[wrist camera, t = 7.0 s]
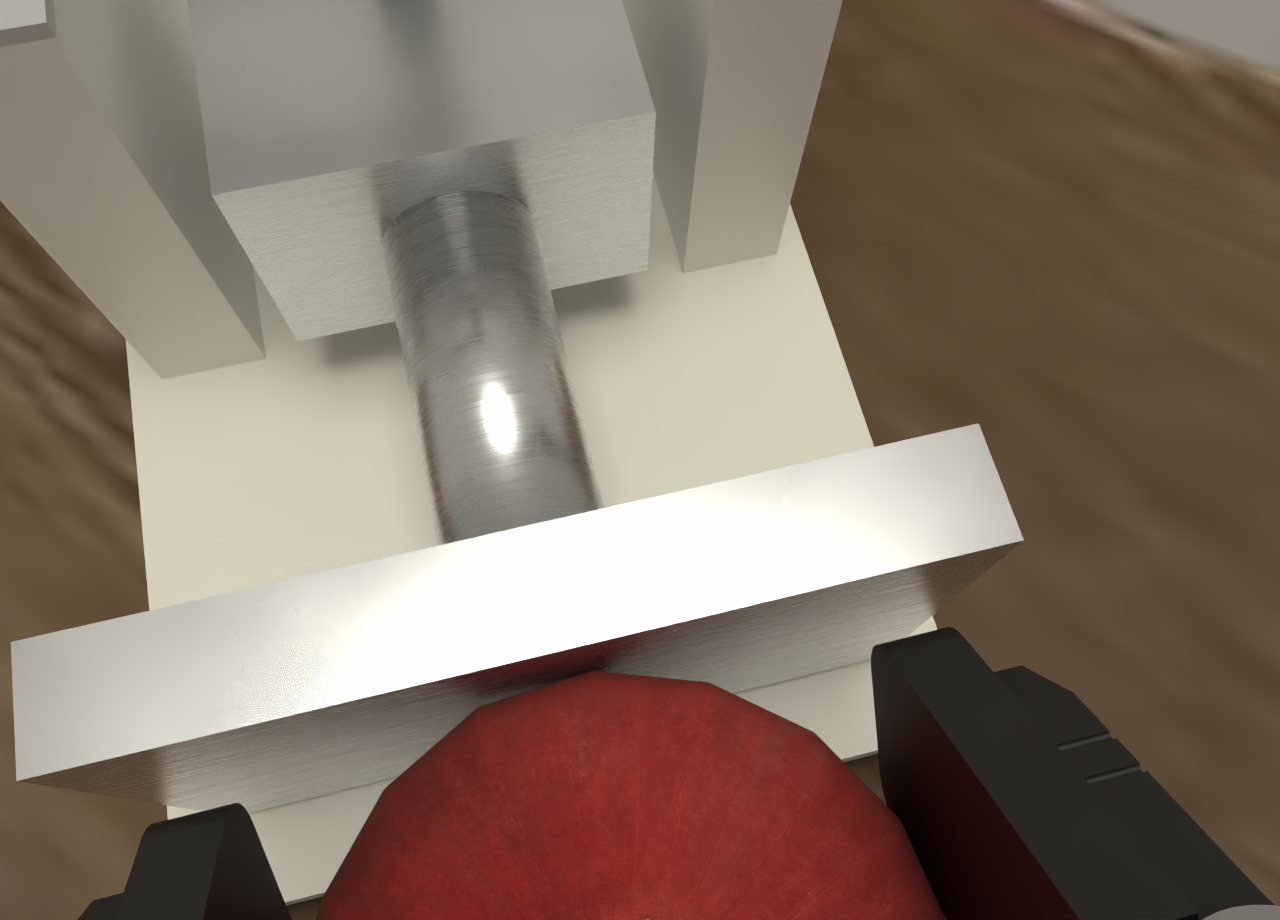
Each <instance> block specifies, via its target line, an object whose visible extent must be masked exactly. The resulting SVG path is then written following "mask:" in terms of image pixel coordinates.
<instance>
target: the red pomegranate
mask: <svg viewBox="0 0 1280 920" xmlns="http://www.w3.org/2000/svg"><path fill="white" fill-rule="evenodd" d="M316 920H946V919H945V917H944V915H943V913H942V910H941V908H940V906H939V904H938V901H937V899H936V897H935V895H934V893H933V890H932V888H931V886H930V884H929V882H928V879H927V877H926V875H925V873H924V871H923V868H922V866H921V864H920V862H919V859H918V857H917V855H916V853H915V851H914V848H913V846H912V844H911V842H910V840H909V837H908V835H907V833H906V831H905V829H904V826H903V824H902V822H901V820H900V819H899V818H898V817H897V816H896V815H895V814H894V813H893V812H892V811H891V810H890V809H889V808H888V807H887V806H886V805H885V804H884V803H883V802H882V801H881V800H880V799H879V798H878V797H877V796H876V795H875V794H874V793H873V792H872V791H871V789H870V788H869V787H868V786H867V785H866V784H865V783H864V782H863V781H862V780H861V779H860V778H859V777H858V776H857V775H856V774H855V773H854V772H853V771H852V770H851V769H850V768H849V767H848V766H847V765H846V764H845V763H844V762H843V761H842V760H841V759H840V758H839V757H838V756H837V755H836V754H835V753H834V752H833V751H832V750H831V749H830V748H829V747H828V746H827V745H826V744H825V743H824V742H823V741H822V740H821V739H820V737H819V736H818V735H817V734H816V733H815V732H813V731H811V730H809V729H806V728H804V727H802V726H800V725H798V724H796V723H794V722H792V721H790V720H787V719H785V718H783V717H781V716H779V715H777V714H775V713H773V712H770V711H768V710H766V709H764V708H762V707H760V706H758V705H756V704H754V703H751V702H749V701H747V700H745V699H743V698H741V697H739V696H737V695H735V694H732V693H730V692H728V691H726V690H724V689H722V688H720V687H718V686H715V685H713V684H711V683H709V682H701V681H691V680H681V679H671V678H661V677H651V676H641V675H631V674H621V673H611V672H601V671H590V672H587V673H584V674H580V675H577V676H574V677H571V678H568V679H565V680H562V681H559V682H555V683H552V684H549V685H546V686H543V687H540V688H537V689H533V690H530V691H527V692H524V693H521V694H518V695H515V696H512V697H508V698H505V699H502V700H499V701H496V702H493V703H490V704H486V705H483V706H480V707H478V708H477V709H475V710H474V711H473V712H472V713H471V714H470V715H468V716H467V717H466V718H465V719H464V720H463V721H462V722H460V723H459V724H458V725H457V726H456V727H455V728H454V729H452V730H451V731H450V732H449V733H448V734H447V735H445V736H444V737H443V738H442V739H441V740H440V741H439V742H437V743H436V744H435V745H434V746H433V747H432V748H431V749H429V750H428V751H427V752H426V753H425V754H424V755H423V756H421V757H420V758H419V759H418V760H417V761H416V762H414V763H413V764H412V765H411V766H410V767H409V768H408V769H406V770H405V771H404V772H403V773H402V774H401V775H400V776H398V777H397V778H396V779H395V780H394V781H393V782H392V783H390V784H389V785H388V786H387V787H386V788H385V789H384V790H383V792H382V794H381V795H380V797H379V799H378V801H377V802H376V804H375V806H374V808H373V809H372V811H371V813H370V815H369V816H368V818H367V820H366V822H365V823H364V825H363V827H362V829H361V831H360V832H359V834H358V836H357V838H356V839H355V841H354V843H353V845H352V846H351V848H350V850H349V852H348V853H347V855H346V857H345V859H344V860H343V862H342V864H341V866H340V868H339V869H338V871H337V873H336V875H335V876H334V878H333V880H332V882H331V883H330V885H329V887H328V889H327V890H326V892H325V894H324V896H323V897H322V899H321V902H320V906H319V911H318V915H317V919H316Z"/></svg>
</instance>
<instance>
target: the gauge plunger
mask: <svg viewBox="0 0 1280 920" xmlns="http://www.w3.org/2000/svg"><path fill="white" fill-rule="evenodd" d="M187 3H188V11H189V19H190V27H191V35H192V43H193V51H194V59H195V67H196V75H197V83H198V91H199V99H200V107H201V115H202V123H203V131H204V139H205V147H206V155H207V163H208V170H209V178H210V186H211V194H212V197H213V198H214V200H215V202H216V203H217V205H218V207H219V209H220V210H221V212H222V214H223V215H224V217H225V219H226V220H227V222H228V224H229V226H230V227H231V229H232V231H233V232H234V234H235V236H236V237H237V239H238V241H239V242H240V244H241V246H242V248H243V249H244V251H245V253H246V254H247V256H248V258H249V259H250V261H251V263H252V264H253V266H254V268H255V270H256V271H257V273H258V275H259V276H260V278H261V280H262V281H263V283H264V285H265V287H266V288H267V290H268V292H269V293H270V295H271V297H272V298H273V300H274V302H275V303H276V305H277V307H278V309H279V310H280V312H281V314H282V315H283V317H284V319H285V320H286V322H287V324H288V325H289V327H290V329H291V331H292V332H293V334H294V336H295V337H296V339H297V341H302V340H307V339H312V338H317V337H322V336H327V335H331V334H336V333H341V332H346V331H351V330H356V329H361V328H366V327H371V326H376V325H381V324H386V323H391V322H395V321H396V324H397V329H398V334H399V340H400V345H401V350H402V356H403V361H404V367H405V372H406V377H407V383H408V388H409V393H410V399H411V404H412V409H413V415H414V420H415V425H416V431H417V436H418V441H419V447H420V452H421V457H422V463H423V468H424V473H425V479H426V484H427V489H428V495H429V500H430V505H431V511H432V516H433V521H434V527H435V532H436V537H437V543H438V546H434V547H430V548H425V549H421V550H416V551H412V552H408V553H403V554H399V555H394V556H390V557H385V558H381V559H377V560H372V561H368V562H363V563H359V564H354V565H350V566H346V567H341V568H337V569H332V570H328V571H323V572H319V573H315V574H310V575H306V576H301V577H297V578H292V579H288V580H284V581H279V582H275V583H270V584H266V585H261V586H257V587H253V588H248V589H244V590H239V591H235V592H230V593H226V594H222V595H217V596H213V597H208V598H204V599H200V600H195V601H191V602H186V603H182V604H177V605H173V606H169V607H164V608H160V609H155V610H151V611H146V612H142V613H138V614H133V615H129V616H124V617H120V618H115V619H111V620H107V621H102V622H98V623H93V624H89V625H84V626H80V627H76V628H71V629H67V630H62V631H58V632H53V633H49V634H45V635H40V636H36V637H31V638H27V639H22V640H18V641H14V642H11V658H12V682H13V706H14V730H15V754H16V778H17V781H20V782H26V783H32V784H38V785H44V786H50V787H57V788H63V789H69V790H75V791H81V792H87V793H94V794H100V795H106V796H112V797H118V798H124V799H131V800H137V801H143V802H149V803H155V804H161V805H168V806H174V807H180V808H186V809H192V810H198V811H205V810H209V809H213V808H217V807H221V806H225V805H229V804H233V803H240V804H241V805H243V806H244V808H245V809H246V810H247V812H248V813H251V812H255V811H259V810H263V809H267V808H271V807H275V806H279V805H283V804H288V803H292V802H296V801H300V800H304V799H308V798H312V797H316V796H320V795H324V794H328V793H332V792H336V791H340V790H344V789H348V788H352V787H356V786H360V785H364V784H368V783H372V782H376V781H380V780H385V779H389V778H393V777H397V776H400V775H401V774H402V773H403V772H404V771H405V770H406V769H408V768H409V767H410V766H411V765H412V764H413V763H414V762H416V761H417V760H418V759H419V758H420V757H421V756H423V755H424V754H425V753H426V752H427V751H428V750H429V749H431V748H432V747H433V746H434V745H435V744H436V743H437V742H439V741H440V740H441V739H442V738H443V737H444V736H445V735H447V734H448V733H449V732H450V731H451V730H452V729H454V728H455V727H456V726H457V725H458V724H459V723H460V722H462V721H463V720H464V719H465V718H466V717H467V716H468V715H470V714H471V713H472V712H473V711H474V710H475V709H477V708H478V707H480V706H483V705H486V704H490V703H493V702H496V701H499V700H502V699H505V698H508V697H512V696H515V695H518V694H521V693H524V692H527V691H530V690H533V689H537V688H540V687H543V686H546V685H549V684H552V683H555V682H559V681H562V680H565V679H568V678H571V677H574V676H577V675H580V674H584V673H587V672H590V671H601V672H611V673H621V674H631V675H641V676H651V677H661V678H671V679H681V680H691V681H701V682H709V683H711V684H713V685H715V686H718V687H720V688H722V689H724V690H726V691H728V692H730V693H736V692H740V691H744V690H748V689H752V688H756V687H760V686H764V685H768V684H772V683H776V682H780V681H784V680H789V679H793V678H797V677H801V676H805V675H809V674H813V673H817V672H821V671H825V670H829V669H833V668H837V667H841V666H845V665H849V664H853V663H857V662H861V661H865V660H869V659H871V653H872V649H873V647H874V646H875V645H878V644H882V643H886V642H890V641H894V640H898V639H902V638H906V637H907V636H908V635H910V634H911V633H912V632H913V631H914V630H916V629H917V628H918V627H919V626H920V625H922V624H923V623H924V622H925V621H927V620H928V619H929V618H930V617H931V616H933V615H934V614H935V613H936V612H937V611H939V610H940V609H941V608H942V607H943V606H945V605H946V604H947V603H948V602H950V601H951V600H952V599H953V598H954V597H956V596H957V595H958V594H959V593H960V592H962V591H963V590H964V589H965V588H966V587H968V586H969V585H970V584H971V583H973V582H974V581H975V580H976V579H977V578H979V577H980V576H981V575H982V574H983V573H985V572H986V571H987V570H988V569H989V568H991V567H992V566H993V565H994V564H996V563H997V562H998V561H999V560H1000V559H1002V558H1003V557H1004V556H1005V555H1006V554H1008V553H1009V552H1010V551H1011V550H1012V549H1014V548H1015V547H1016V546H1017V545H1019V544H1020V543H1021V542H1022V541H1023V537H1022V535H1021V532H1020V529H1019V527H1018V524H1017V522H1016V519H1015V516H1014V514H1013V511H1012V509H1011V506H1010V503H1009V501H1008V498H1007V496H1006V493H1005V490H1004V488H1003V485H1002V483H1001V480H1000V477H999V475H998V472H997V470H996V467H995V465H994V462H993V459H992V457H991V454H990V452H989V449H988V446H987V444H986V441H985V439H984V436H983V433H982V431H981V428H980V426H979V424H974V425H970V426H965V427H961V428H956V429H952V430H948V431H943V432H939V433H934V434H930V435H925V436H921V437H917V438H912V439H908V440H903V441H899V442H894V443H890V444H886V445H881V446H877V447H872V448H868V449H864V450H859V451H855V452H850V453H846V454H841V455H837V456H833V457H828V458H824V459H819V460H815V461H810V462H806V463H802V464H797V465H793V466H788V467H784V468H779V469H775V470H771V471H766V472H762V473H757V474H753V475H748V476H744V477H740V478H735V479H731V480H726V481H722V482H717V483H713V484H709V485H704V486H700V487H695V488H691V489H686V490H682V491H678V492H673V493H669V494H664V495H660V496H655V497H651V498H647V499H642V500H638V501H633V502H629V503H624V504H620V505H616V506H611V507H607V508H604V505H603V501H602V497H601V493H600V489H599V485H598V481H597V477H596V473H595V469H594V465H593V461H592V457H591V453H590V449H589V445H588V440H587V436H586V432H585V428H584V424H583V420H582V416H581V412H580V408H579V404H578V400H577V396H576V392H575V388H574V384H573V380H572V376H571V371H570V367H569V363H568V359H567V355H566V351H565V347H564V343H563V339H562V335H561V331H560V327H559V323H558V319H557V315H556V311H555V307H554V302H553V298H552V294H551V290H553V289H558V288H563V287H568V286H573V285H578V284H583V283H587V282H592V281H597V280H602V279H607V278H612V277H617V276H622V275H627V274H632V273H637V272H642V271H647V268H648V250H649V231H650V213H651V194H652V176H653V157H654V139H655V120H656V110H655V107H654V104H653V101H652V97H651V94H650V91H649V88H648V84H647V81H646V78H645V74H644V71H643V68H642V65H641V61H640V58H639V55H638V52H637V48H636V45H635V42H634V38H633V35H632V32H631V29H630V25H629V22H628V19H627V16H626V12H625V9H624V6H623V2H622V0H187Z"/></svg>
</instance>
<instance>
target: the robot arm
mask: <svg viewBox="0 0 1280 920" xmlns="http://www.w3.org/2000/svg"><path fill="white" fill-rule="evenodd" d="M871 674H872V685H873V697H874V709H875V721H876V732H877V744H878V756H879V768H880V777H881V782H882V787H883V792H884V796H885V799H886V803H887V806H888V808H889V809H890V810H891V811H892V812H893V813H894V814H895V815H896V816H897V817H898V818H899V819H900V820H901V822H902V824H903V826H904V829H905V831H906V833H907V835H908V837H909V840H910V842H911V844H912V846H913V848H914V851H915V853H916V855H917V857H918V859H919V862H920V864H921V866H922V868H923V871H924V873H925V875H926V877H927V879H928V882H929V884H930V886H931V888H932V890H933V893H934V895H935V897H936V899H937V901H938V904H939V906H940V908H941V910H942V912H943V914H944V916H945V917H946V919H947V920H1280V906H1275V905H1274V904H1273V903H1272V902H1271V901H1270V900H1269V899H1268V898H1267V897H1265V895H1264V894H1263V893H1262V892H1261V891H1260V890H1259V889H1258V888H1257V887H1256V886H1255V885H1254V884H1253V883H1252V882H1251V881H1250V880H1249V878H1248V877H1247V876H1246V875H1245V874H1244V873H1243V872H1242V871H1241V870H1240V869H1239V868H1238V867H1237V866H1236V865H1235V864H1234V863H1233V862H1232V860H1231V859H1230V858H1229V857H1228V856H1227V855H1226V854H1225V853H1224V852H1223V851H1222V850H1221V849H1220V848H1219V847H1218V846H1217V845H1216V844H1215V842H1214V841H1213V840H1212V839H1211V838H1210V837H1209V836H1208V835H1207V834H1206V833H1205V832H1204V831H1203V830H1202V829H1201V828H1200V827H1199V825H1198V824H1197V823H1196V822H1195V821H1194V820H1193V819H1192V818H1191V817H1190V816H1189V815H1188V814H1187V813H1186V812H1185V811H1184V810H1183V809H1182V807H1181V806H1180V805H1179V804H1178V803H1177V802H1176V801H1175V800H1174V799H1173V798H1172V797H1171V796H1170V795H1169V794H1168V793H1167V792H1166V791H1165V789H1164V788H1163V787H1162V786H1161V785H1160V784H1159V783H1158V782H1157V781H1156V780H1155V779H1154V778H1153V777H1152V776H1151V775H1150V774H1149V772H1148V771H1146V772H1143V771H1142V770H1141V768H1140V765H1139V762H1138V761H1137V760H1136V759H1135V758H1134V757H1133V756H1132V754H1131V753H1130V752H1129V751H1128V750H1127V749H1126V748H1125V747H1124V746H1123V745H1122V744H1121V743H1120V742H1119V741H1118V740H1117V739H1112V738H1111V736H1110V734H1109V730H1108V729H1107V728H1106V727H1105V726H1104V725H1103V724H1102V723H1101V722H1100V721H1099V719H1098V718H1097V717H1096V716H1095V715H1094V714H1093V713H1092V712H1091V711H1090V710H1089V709H1088V708H1087V707H1086V706H1085V705H1084V704H1083V703H1082V701H1081V700H1080V699H1079V698H1078V697H1077V696H1076V695H1075V694H1074V693H1073V692H1071V691H1069V690H1067V689H1065V688H1063V687H1062V686H1060V685H1058V684H1056V683H1054V682H1052V681H1050V680H1048V679H1046V678H1044V677H1043V676H1041V675H1039V674H1037V673H1035V672H1033V671H1031V670H1029V669H1027V668H1025V667H1023V666H1018V667H1014V668H1010V669H1006V670H1002V671H998V672H993V671H992V670H991V669H990V668H989V666H988V665H987V664H986V663H985V662H984V660H983V659H982V658H981V657H980V656H979V655H978V653H977V652H976V651H975V650H974V649H973V648H972V646H971V645H970V644H969V643H968V642H967V641H966V639H965V638H964V637H963V636H962V635H961V634H960V633H959V632H958V631H957V630H956V629H954V628H952V627H946V628H942V629H938V630H934V631H930V632H926V633H922V634H918V635H914V636H910V637H906V638H902V639H898V640H894V641H890V642H886V643H882V644H878V645H875V646H874V647H873V649H872V653H871ZM78 920H292V919H291V916H290V914H289V911H288V909H287V906H286V904H285V901H284V899H283V896H282V894H281V891H280V889H279V886H278V884H277V881H276V879H275V876H274V874H273V871H272V869H271V866H270V864H269V861H268V859H267V856H266V854H265V851H264V849H263V846H262V844H261V841H260V839H259V836H258V834H257V831H256V829H255V826H254V824H253V822H252V819H251V817H250V815H249V813H248V812H247V810H246V809H245V808H244V806H243V805H241V804H240V803H233V804H229V805H225V806H221V807H217V808H213V809H209V810H205V811H201V812H197V813H193V814H189V815H185V816H181V817H177V818H173V819H169V820H165V821H161V822H157V823H154V824H151V825H150V826H149V827H147V829H146V830H145V832H144V834H143V836H142V839H141V842H140V845H139V848H138V851H137V854H136V857H135V860H134V863H133V866H132V869H131V872H130V875H129V878H128V881H127V884H126V888H125V891H124V893H121V894H117V895H113V896H110V897H106V898H102V899H98V900H94V901H92V902H91V904H90V905H89V906H88V907H87V909H86V910H85V911H84V913H83V914H82V915H81V916H80V918H79V919H78Z"/></svg>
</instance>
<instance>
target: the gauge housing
mask: <svg viewBox="0 0 1280 920" xmlns="http://www.w3.org/2000/svg"><path fill="white" fill-rule="evenodd" d="M842 1H843V0H622V2H623V6H624V9H625V12H626V16H627V19H628V22H629V25H630V29H631V32H632V35H633V38H634V42H635V45H636V48H637V52H638V55H639V58H640V61H641V65H642V68H643V71H644V74H645V78H646V81H647V84H648V88H649V91H650V94H651V97H652V101H653V104H654V107H655V110H656V120H655V139H654V157H653V176H652V194H651V213H650V231H649V250H648V268H647V271H642V272H637V273H632V274H627V275H622V276H617V277H612V278H607V279H602V280H597V281H592V282H587V283H583V284H578V285H573V286H568V287H563V288H558V289H553V290H551V294H552V298H553V302H554V307H555V311H556V315H557V319H558V323H559V327H560V331H561V335H562V339H563V343H564V347H565V351H566V355H567V359H568V363H569V367H570V371H571V376H572V380H573V384H574V388H575V392H576V396H577V400H578V404H579V408H580V412H581V416H582V420H583V424H584V428H585V432H586V436H587V440H588V445H589V449H590V453H591V457H592V461H593V465H594V469H595V473H596V477H597V481H598V485H599V489H600V493H601V497H602V501H603V505H604V508H607V507H611V506H616V505H620V504H624V503H629V502H633V501H638V500H642V499H647V498H651V497H655V496H660V495H664V494H669V493H673V492H678V491H682V490H686V489H691V488H695V487H700V486H704V485H709V484H713V483H717V482H722V481H726V480H731V479H735V478H740V477H744V476H748V475H753V474H757V473H762V472H766V471H771V470H775V469H779V468H784V467H788V466H793V465H797V464H802V463H806V462H810V461H815V460H819V459H824V458H828V457H833V456H837V455H841V454H846V453H850V452H855V451H859V450H864V449H868V448H872V447H874V445H873V442H872V439H871V437H870V434H869V431H868V428H867V425H866V422H865V419H864V416H863V413H862V410H861V408H860V405H859V402H858V399H857V396H856V393H855V390H854V387H853V384H852V382H851V379H850V376H849V373H848V370H847V367H846V364H845V361H844V358H843V356H842V353H841V350H840V347H839V344H838V341H837V338H836V335H835V332H834V330H833V327H832V324H831V321H830V318H829V315H828V312H827V309H826V306H825V304H824V301H823V298H822V295H821V292H820V289H819V286H818V283H817V280H816V278H815V275H814V272H813V269H812V266H811V263H810V260H809V257H808V254H807V252H806V249H805V246H804V243H803V240H802V237H801V234H800V231H799V228H798V225H797V223H796V220H795V217H794V214H793V211H792V208H791V205H790V201H791V197H792V193H793V189H794V185H795V181H796V178H797V174H798V170H799V166H800V162H801V158H802V155H803V151H804V147H805V143H806V139H807V135H808V131H809V128H810V124H811V120H812V116H813V112H814V108H815V104H816V101H817V97H818V93H819V89H820V85H821V81H822V78H823V74H824V70H825V66H826V62H827V58H828V54H829V51H830V47H831V43H832V39H833V35H834V31H835V27H836V24H837V20H838V16H839V12H840V8H841V4H842ZM0 201H1V202H2V203H3V204H4V205H5V206H6V208H7V209H8V210H9V211H10V212H11V213H12V214H13V215H14V216H15V217H16V219H17V220H18V221H19V222H20V223H21V224H22V225H23V226H24V227H25V229H26V230H27V231H28V232H29V233H30V234H31V235H32V236H33V237H34V238H35V240H36V241H37V242H38V243H39V244H40V245H41V246H42V247H43V248H44V249H45V251H46V252H47V253H48V254H49V255H50V256H51V257H52V258H53V259H54V260H55V262H56V263H57V264H58V265H59V266H60V267H61V268H62V269H63V270H64V272H65V273H66V274H67V275H68V276H69V277H70V278H71V279H72V280H73V281H74V283H75V284H76V285H77V286H78V287H79V288H80V289H81V290H82V291H83V292H84V294H85V295H86V296H87V297H88V298H89V299H90V300H91V301H92V302H93V303H94V305H95V306H96V307H97V308H98V309H99V310H100V311H101V312H102V313H103V315H104V316H105V317H106V318H107V319H108V320H109V321H110V322H111V323H112V324H113V326H114V327H115V328H116V329H117V330H118V331H119V332H120V333H121V334H122V335H123V337H124V338H125V339H126V348H127V360H128V371H129V382H130V394H131V405H132V416H133V428H134V439H135V451H136V462H137V473H138V485H139V496H140V507H141V519H142V530H143V542H144V553H145V564H146V576H147V587H148V598H149V610H150V611H151V610H155V609H160V608H164V607H169V606H173V605H177V604H182V603H186V602H191V601H195V600H200V599H204V598H208V597H213V596H217V595H222V594H226V593H230V592H235V591H239V590H244V589H248V588H253V587H257V586H261V585H266V584H270V583H275V582H279V581H284V580H288V579H292V578H297V577H301V576H306V575H310V574H315V573H319V572H323V571H328V570H332V569H337V568H341V567H346V566H350V565H354V564H359V563H363V562H368V561H372V560H377V559H381V558H385V557H390V556H394V555H399V554H403V553H408V552H412V551H416V550H421V549H425V548H430V547H434V546H438V543H437V537H436V532H435V527H434V521H433V516H432V511H431V505H430V500H429V495H428V489H427V484H426V479H425V473H424V468H423V463H422V457H421V452H420V447H419V441H418V436H417V431H416V425H415V420H414V415H413V409H412V404H411V399H410V393H409V388H408V383H407V377H406V372H405V367H404V361H403V356H402V350H401V345H400V340H399V334H398V329H397V324H396V321H395V322H391V323H386V324H381V325H376V326H371V327H366V328H361V329H356V330H351V331H346V332H341V333H336V334H331V335H327V336H322V337H317V338H312V339H307V340H302V341H297V339H296V337H295V336H294V334H293V332H292V331H291V329H290V327H289V325H288V324H287V322H286V320H285V319H284V317H283V315H282V314H281V312H280V310H279V309H278V307H277V305H276V303H275V302H274V300H273V298H272V297H271V295H270V293H269V292H268V290H267V288H266V287H265V285H264V283H263V281H262V280H261V278H260V276H259V275H258V273H257V271H256V270H255V268H254V266H253V264H252V263H251V261H250V259H249V258H248V256H247V254H246V253H245V251H244V249H243V248H242V246H241V244H240V242H239V241H238V239H237V237H236V236H235V234H234V232H233V231H232V229H231V227H230V226H229V224H228V222H227V220H226V219H225V217H224V215H223V214H222V212H221V210H220V209H219V207H218V205H217V203H216V202H215V200H214V198H213V197H212V194H211V186H210V178H209V170H208V163H207V155H206V147H205V139H204V131H203V123H202V115H201V107H200V99H199V91H198V83H197V75H196V67H195V59H194V51H193V43H192V35H191V27H190V19H189V11H188V3H187V0H0ZM934 630H937V627H936V624H935V622H934V619H933V616H931V617H930V618H929V619H928V620H927V621H925V622H924V623H923V624H922V625H920V626H919V627H918V628H917V629H916V630H914V631H913V632H912V633H911V634H910V635H908V636H907V637H910V636H914V635H918V634H922V633H926V632H930V631H934ZM732 694H735V695H737V696H739V697H741V698H743V699H745V700H747V701H749V702H751V703H754V704H756V705H758V706H760V707H762V708H764V709H766V710H768V711H770V712H773V713H775V714H777V715H779V716H781V717H783V718H785V719H787V720H790V721H792V722H794V723H796V724H798V725H800V726H802V727H804V728H806V729H809V730H811V731H813V732H815V733H816V734H817V735H818V736H819V737H820V739H821V740H822V741H823V742H824V743H825V744H826V745H827V746H828V747H829V748H830V749H831V750H832V751H833V752H834V753H835V754H836V755H837V756H838V757H839V758H840V759H841V760H842V761H843V762H847V761H851V760H855V759H859V758H863V757H867V756H871V755H874V754H878V744H877V732H876V721H875V709H874V697H873V685H872V674H871V659H869V660H865V661H861V662H857V663H853V664H849V665H845V666H841V667H837V668H833V669H829V670H825V671H821V672H817V673H813V674H809V675H805V676H801V677H797V678H793V679H789V680H784V681H780V682H776V683H772V684H768V685H764V686H760V687H756V688H752V689H748V690H744V691H740V692H736V693H732ZM397 777H398V776H397ZM397 777H393V778H389V779H385V780H380V781H376V782H372V783H368V784H364V785H360V786H356V787H352V788H348V789H344V790H340V791H336V792H332V793H328V794H324V795H320V796H316V797H312V798H308V799H304V800H300V801H296V802H292V803H288V804H283V805H279V806H275V807H271V808H267V809H263V810H259V811H255V812H251V813H249V815H250V817H251V819H252V822H253V824H254V826H255V829H256V831H257V834H258V836H259V839H260V841H261V844H262V846H263V849H264V851H265V854H266V856H267V859H268V861H269V864H270V866H271V869H272V871H273V874H274V876H275V879H276V881H277V884H278V886H279V889H280V891H281V894H282V896H283V899H284V901H285V904H286V906H288V905H292V904H295V903H299V902H303V901H307V900H311V899H315V898H319V897H323V896H324V894H325V892H326V890H327V889H328V887H329V885H330V883H331V882H332V880H333V878H334V876H335V875H336V873H337V871H338V869H339V868H340V866H341V864H342V862H343V860H344V859H345V857H346V855H347V853H348V852H349V850H350V848H351V846H352V845H353V843H354V841H355V839H356V838H357V836H358V834H359V832H360V831H361V829H362V827H363V825H364V823H365V822H366V820H367V818H368V816H369V815H370V813H371V811H372V809H373V808H374V806H375V804H376V802H377V801H378V799H379V797H380V795H381V794H382V792H383V790H384V789H385V788H386V787H387V786H388V785H389V784H390V783H392V782H393V781H394V780H395V779H396V778H397ZM197 812H201V811H198V810H192V809H186V808H180V807H174V806H168V805H167V815H168V820H169V819H173V818H177V817H181V816H185V815H189V814H193V813H197Z"/></svg>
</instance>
